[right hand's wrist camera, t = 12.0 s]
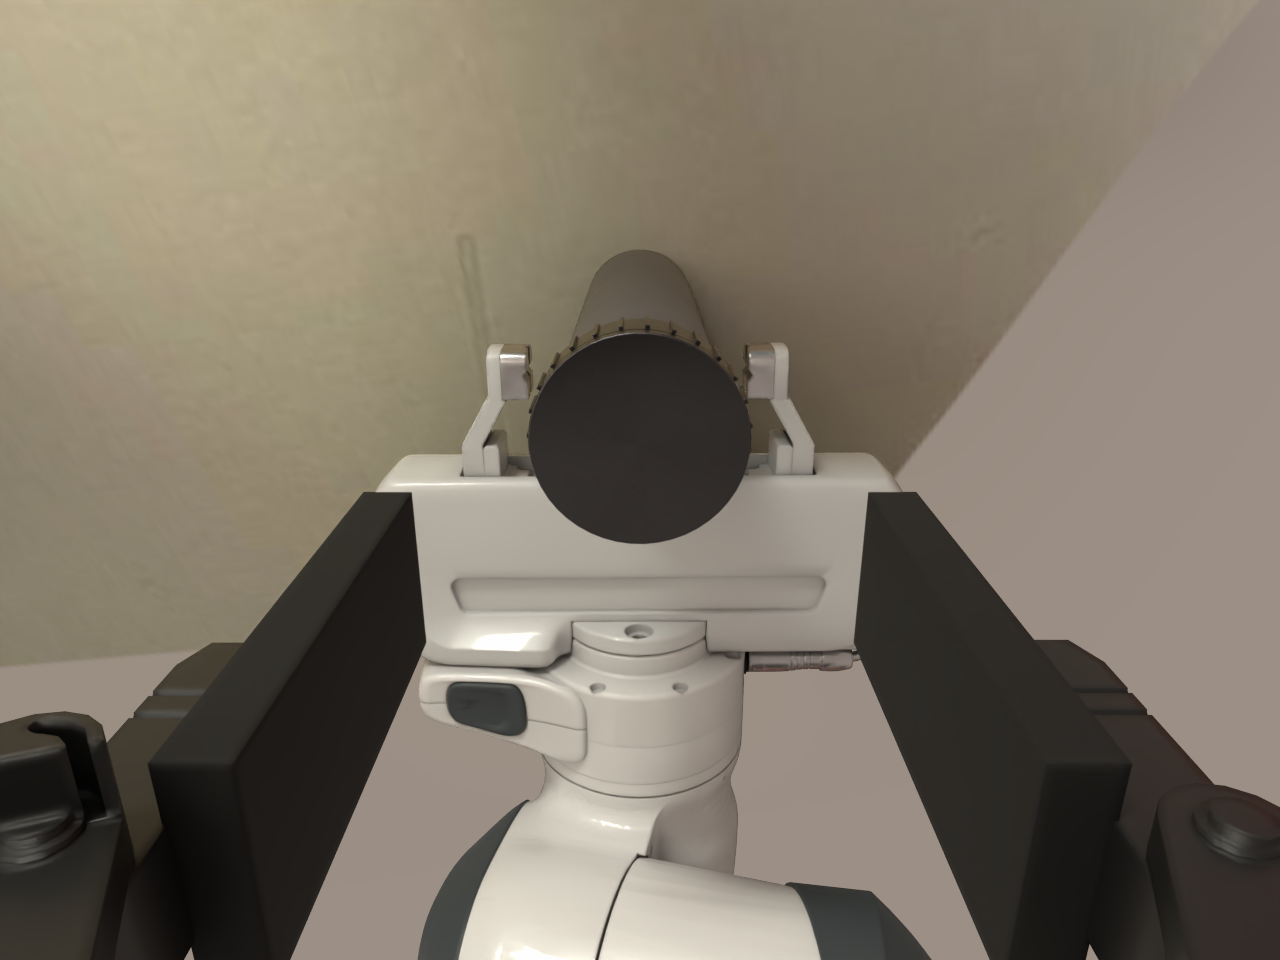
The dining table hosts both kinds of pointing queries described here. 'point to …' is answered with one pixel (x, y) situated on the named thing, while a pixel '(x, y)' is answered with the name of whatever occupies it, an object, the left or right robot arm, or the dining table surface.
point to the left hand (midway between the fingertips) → (637, 345)
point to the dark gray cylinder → (639, 293)
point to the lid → (639, 431)
